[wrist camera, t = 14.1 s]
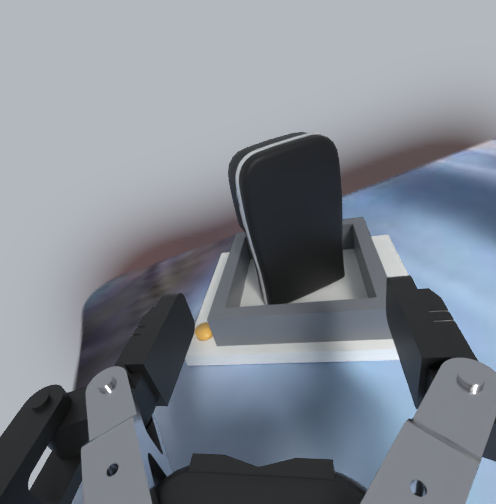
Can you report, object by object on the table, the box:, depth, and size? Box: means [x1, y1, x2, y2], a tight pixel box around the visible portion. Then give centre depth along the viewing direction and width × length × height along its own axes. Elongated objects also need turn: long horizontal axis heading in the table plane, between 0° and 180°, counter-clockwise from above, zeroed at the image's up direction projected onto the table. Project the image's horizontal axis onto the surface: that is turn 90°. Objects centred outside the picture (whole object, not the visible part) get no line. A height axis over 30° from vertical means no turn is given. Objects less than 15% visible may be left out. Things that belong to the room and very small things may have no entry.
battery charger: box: [228, 132, 345, 305], centre depth 22 cm, size 7×4×11 cm, turn 112°
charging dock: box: [185, 217, 408, 366], centre depth 24 cm, size 16×13×4 cm
